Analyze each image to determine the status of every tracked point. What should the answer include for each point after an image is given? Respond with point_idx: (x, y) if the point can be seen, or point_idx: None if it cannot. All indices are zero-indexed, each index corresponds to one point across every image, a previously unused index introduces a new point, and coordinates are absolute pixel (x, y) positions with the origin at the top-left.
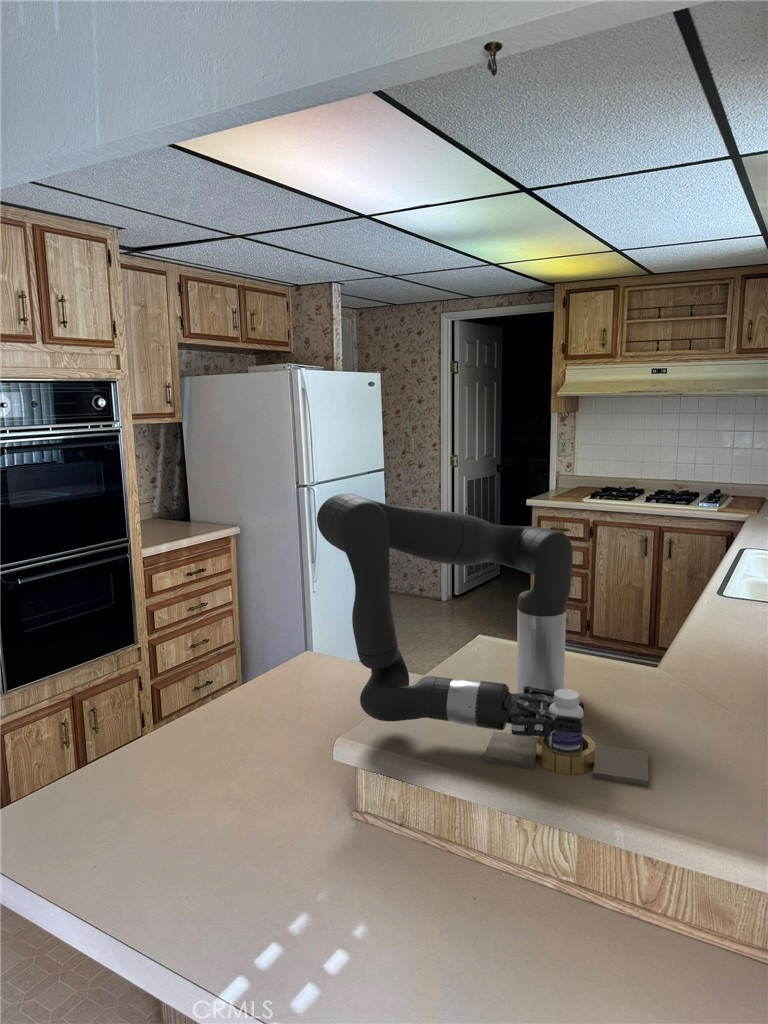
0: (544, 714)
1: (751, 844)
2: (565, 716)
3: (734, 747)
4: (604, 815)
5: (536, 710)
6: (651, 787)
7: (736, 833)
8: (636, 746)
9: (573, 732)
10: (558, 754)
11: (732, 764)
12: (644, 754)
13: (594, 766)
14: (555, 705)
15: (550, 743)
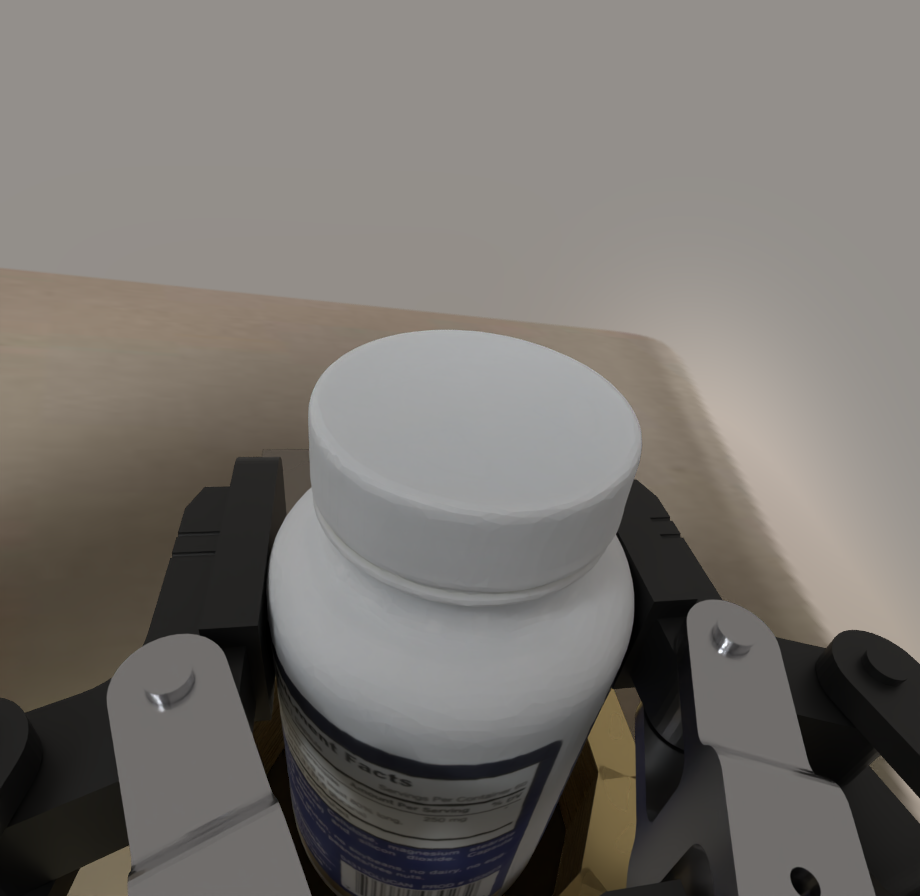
0: (777, 729)
1: (614, 337)
2: (624, 539)
3: (139, 310)
4: (771, 567)
5: (850, 845)
6: None
7: (593, 348)
8: (158, 501)
9: None
10: (628, 758)
11: (253, 323)
12: (289, 456)
13: None
14: (543, 609)
15: (528, 853)
